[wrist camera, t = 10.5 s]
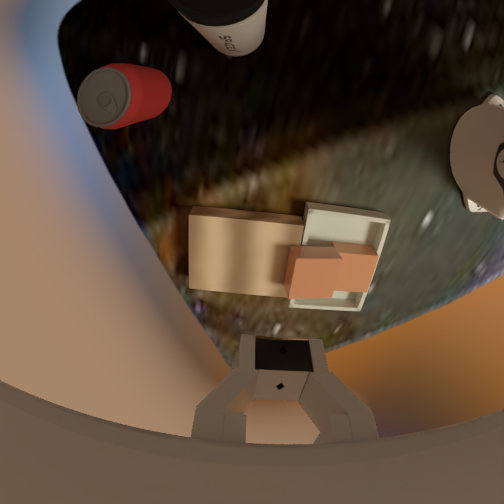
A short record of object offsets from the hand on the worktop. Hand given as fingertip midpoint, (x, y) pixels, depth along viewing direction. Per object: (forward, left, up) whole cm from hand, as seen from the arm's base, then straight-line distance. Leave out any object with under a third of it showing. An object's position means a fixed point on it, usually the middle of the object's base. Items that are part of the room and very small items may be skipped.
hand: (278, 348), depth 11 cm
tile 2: (-13, +12, -28) cm, 34 cm away
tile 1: (-7, +12, -26) cm, 30 cm away
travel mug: (+5, -16, -29) cm, 34 cm away
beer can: (+15, -8, -29) cm, 34 cm away
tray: (-11, +12, -29) cm, 33 cm away
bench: (+2, +12, -29) cm, 31 cm away
